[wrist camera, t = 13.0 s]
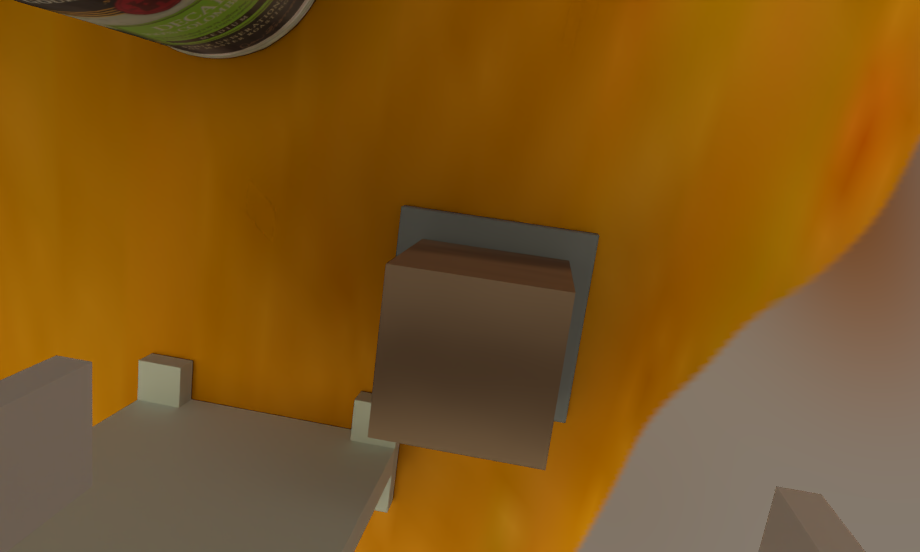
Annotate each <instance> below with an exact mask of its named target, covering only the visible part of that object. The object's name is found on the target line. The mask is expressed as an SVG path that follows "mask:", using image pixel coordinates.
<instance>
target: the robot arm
mask: <svg viewBox="0 0 920 552" xmlns="http://www.w3.org/2000/svg"><path fill="white" fill-rule="evenodd" d="M90 487H92V362H89V361H84V360H78V359H73V358H67V357H62V356H54V357H52V358H50V359H47V360H45V361H43V362H41V363H38V364H36V365H34V366H32V367H29V368H27V369H25V370H23V371H20V372H18V373H16V374H14V375H11V376H9V377H7V378H5V379H2V380H0V552H7V551H8V550H10V549H11V548H12V547H13V546H15V545H16V544H17V543H19V542H20V541H21V540H23V539H24V538H25V537H26V536H28V535H29V534H30V533H32V532H33V531H34V530H36V529H37V528H38V527H40V526H41V525H42V524H43V523H45V522H46V521H47V520H49V519H50V518H51V517H53V516H54V515H55V514H56V513H58V512H59V511H60V510H62V509H63V508H64V507H66V506H67V505H68V504H69V503H71V502H72V501H73V500H75V499H76V498H77V497H79V496H80V495H81V494H82V493H84V492H85V491H86V490H88V489H89V488H90ZM759 552H865V551H864V549H863V548H862V547H861V545H860V544H859V543H858V542H857V540H856V539H855V538H854V536H853V535H852V534H851V532H850V531H849V530H848V529H847V527H846V526H845V525H844V524H843V522H842V521H841V519H839V517H838V516H837V514H836V513H835V512H834V510H833V509H832V508H831V506H830V505H829V504H828V503H827V502H826V500H825V499H824V497H823V496H822V495H821V494H816V493H810V492H804V491H799V490H794V489H788V488H782V487H776V490H775V494H774V497H773V501H772V505H771V509H770V512H769V515H768V519H767V523H766V526H765V530H764V534H763V537H762V541H761V545H760V548H759Z"/></svg>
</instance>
